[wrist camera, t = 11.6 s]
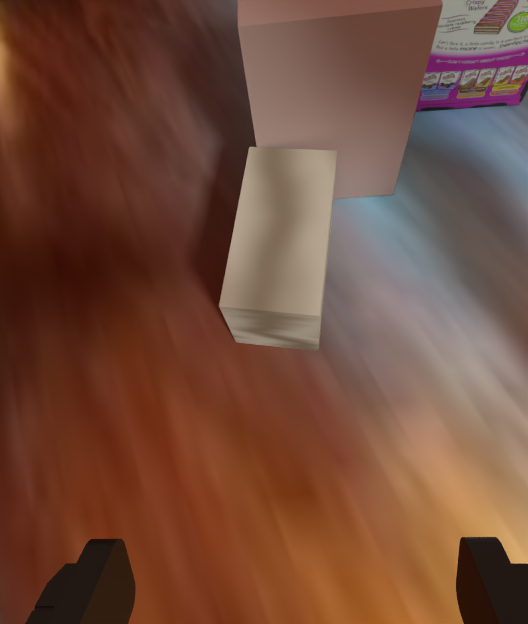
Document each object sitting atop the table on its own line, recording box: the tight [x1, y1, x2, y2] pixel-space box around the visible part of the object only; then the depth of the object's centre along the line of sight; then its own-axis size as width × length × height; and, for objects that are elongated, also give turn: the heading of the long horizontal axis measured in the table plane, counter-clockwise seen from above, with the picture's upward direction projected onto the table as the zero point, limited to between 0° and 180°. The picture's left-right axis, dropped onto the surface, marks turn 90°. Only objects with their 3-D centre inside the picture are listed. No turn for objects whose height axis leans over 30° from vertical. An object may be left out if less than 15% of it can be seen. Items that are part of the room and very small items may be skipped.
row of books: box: [238, 0, 443, 199], centre depth 38 cm, size 12×14×18 cm
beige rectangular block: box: [219, 147, 337, 351], centre depth 38 cm, size 7×14×8 cm, turn 172°
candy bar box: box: [415, 0, 528, 112], centre depth 40 cm, size 11×5×16 cm, turn 89°
